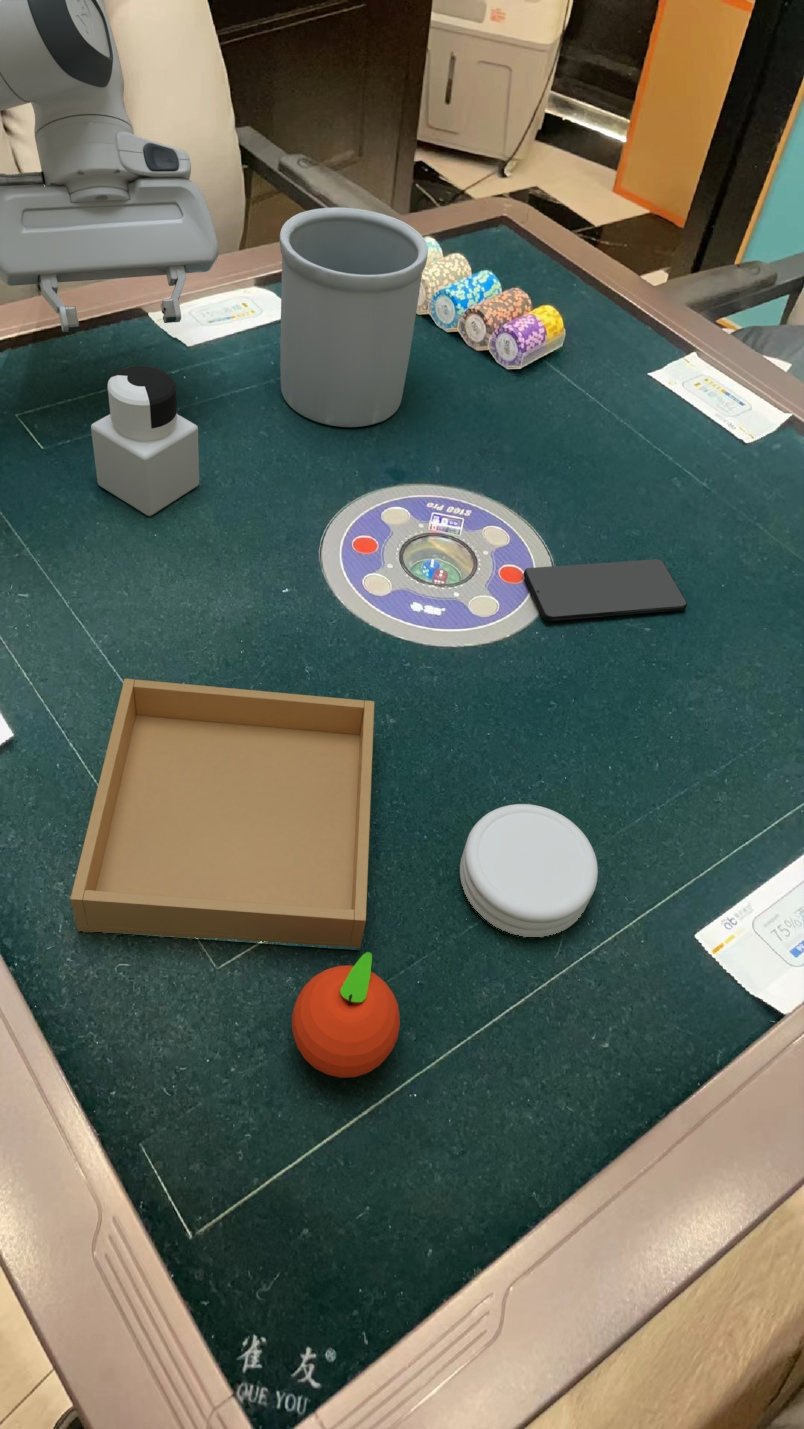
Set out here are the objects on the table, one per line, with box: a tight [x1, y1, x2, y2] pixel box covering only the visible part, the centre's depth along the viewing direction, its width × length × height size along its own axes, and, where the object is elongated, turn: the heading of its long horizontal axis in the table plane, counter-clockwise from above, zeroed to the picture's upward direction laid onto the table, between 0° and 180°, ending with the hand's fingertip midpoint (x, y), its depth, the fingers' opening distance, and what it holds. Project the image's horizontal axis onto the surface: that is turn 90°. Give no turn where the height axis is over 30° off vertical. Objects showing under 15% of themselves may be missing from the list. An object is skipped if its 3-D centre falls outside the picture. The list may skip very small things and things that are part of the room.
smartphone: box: [522, 558, 688, 622], centre depth 101 cm, size 7×1×15 cm
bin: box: [69, 677, 375, 949], centre depth 78 cm, size 20×20×4 cm
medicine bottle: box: [90, 365, 200, 517], centre depth 99 cm, size 7×7×12 cm
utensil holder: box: [279, 206, 429, 428], centre depth 111 cm, size 15×15×18 cm
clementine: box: [291, 951, 401, 1079], centre depth 67 cm, size 8×7×7 cm
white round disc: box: [459, 803, 599, 938], centre depth 78 cm, size 10×10×4 cm
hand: (122, 325), depth 98 cm, fingers open, 8 cm apart
